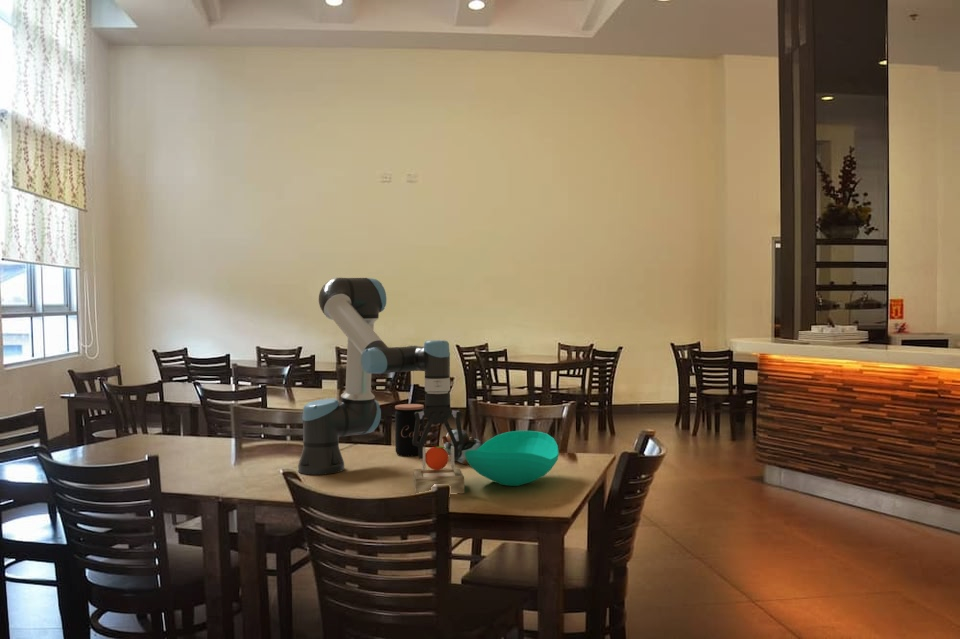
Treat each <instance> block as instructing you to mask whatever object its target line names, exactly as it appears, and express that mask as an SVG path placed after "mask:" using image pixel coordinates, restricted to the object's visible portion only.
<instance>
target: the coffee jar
mask: <svg viewBox="0 0 960 639" xmlns="http://www.w3.org/2000/svg"><path fill="white" fill-rule="evenodd" d="M394 409H395V410H396V411H395V413H394V420H395V421H394V425H395V426H394V427H395V428H394V430H395V435H394V436H395V438H394V439H395V453H396V454H397V456H401V457H417V456H418V457H419V448H418V447H417V446H413V443H412V442H413V435H414V429H415V422H416V418H415V412H421V411H424V409H425V404H420V403H404V404H397V405H395V406H394ZM424 430H425V415H423V416H422V419H420V426H419V433H418V439H417V442H420V439H421V437H422V434H423V432H424ZM423 447H425V444H424V445H423Z"/></svg>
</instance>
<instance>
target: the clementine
mask: <svg viewBox="0 0 960 639" xmlns="http://www.w3.org/2000/svg"><path fill="white" fill-rule="evenodd" d="M445 449H447V448H445V447H444V446H438V445H435V446H431V447H430V448H429V449H427V451H426V452H425V461H426V466H427V467H428V468H429V469H434V470H440V469H442V468H446V465H447V464H448V462H449V455H448V454H447V452H446V450H445ZM447 450H448V449H447ZM450 453H451V452H450ZM451 455H452V454H451Z"/></svg>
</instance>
